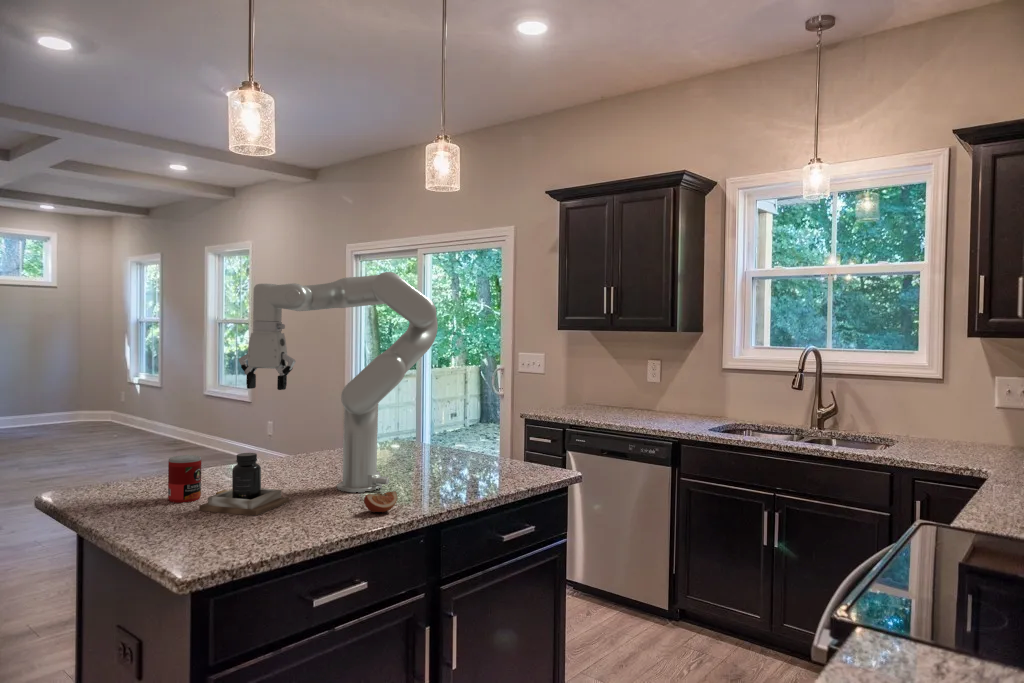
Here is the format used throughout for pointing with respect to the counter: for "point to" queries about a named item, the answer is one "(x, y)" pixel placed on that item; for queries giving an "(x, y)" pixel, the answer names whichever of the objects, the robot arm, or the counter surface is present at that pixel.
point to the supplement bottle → (246, 477)
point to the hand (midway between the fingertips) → (266, 389)
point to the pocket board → (244, 502)
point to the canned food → (184, 478)
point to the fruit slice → (380, 501)
